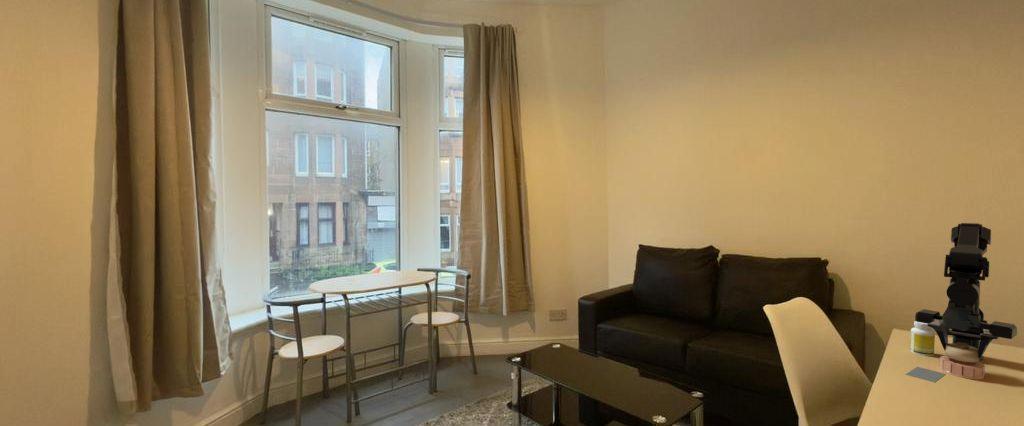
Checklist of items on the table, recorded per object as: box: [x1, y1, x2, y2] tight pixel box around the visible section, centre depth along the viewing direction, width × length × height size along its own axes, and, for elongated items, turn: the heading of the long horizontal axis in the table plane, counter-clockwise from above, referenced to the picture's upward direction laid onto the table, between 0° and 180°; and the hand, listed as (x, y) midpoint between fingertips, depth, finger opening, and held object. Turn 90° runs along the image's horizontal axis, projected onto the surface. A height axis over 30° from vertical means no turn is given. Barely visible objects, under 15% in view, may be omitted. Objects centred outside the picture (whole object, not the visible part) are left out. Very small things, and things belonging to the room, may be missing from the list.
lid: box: [945, 342, 980, 362], centre depth 120 cm, size 6×6×4 cm
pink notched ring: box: [939, 355, 986, 380], centre depth 121 cm, size 8×8×4 cm
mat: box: [905, 366, 947, 383], centre depth 120 cm, size 9×6×1 cm, turn 122°
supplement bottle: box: [909, 320, 936, 357], centre depth 135 cm, size 5×5×10 cm
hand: (962, 353), depth 121 cm, fingers closed on lid, 6 cm apart
